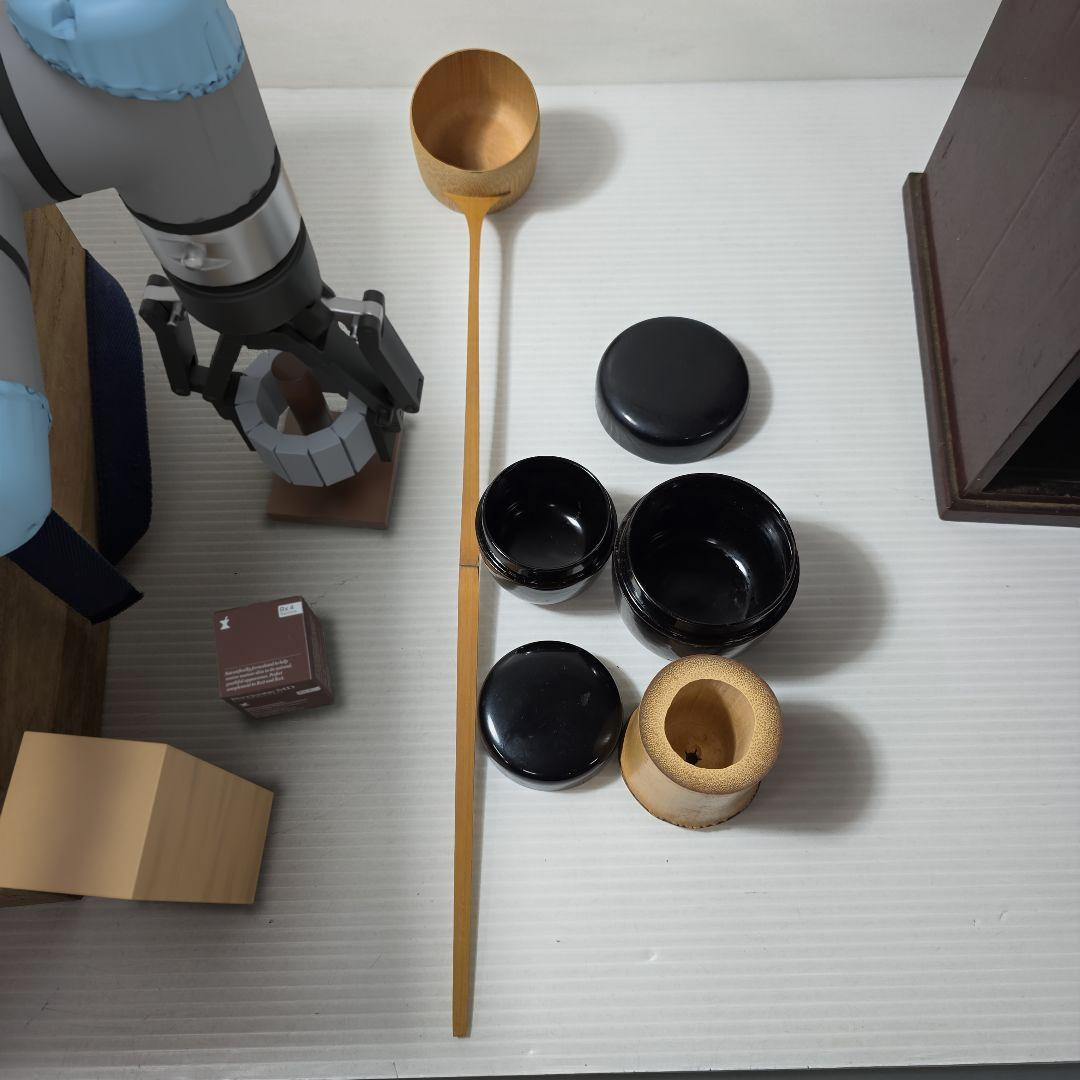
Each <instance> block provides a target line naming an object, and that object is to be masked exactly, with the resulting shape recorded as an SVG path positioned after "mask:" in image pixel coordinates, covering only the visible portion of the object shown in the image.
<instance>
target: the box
mask: <svg viewBox="0 0 1080 1080" xmlns="http://www.w3.org/2000/svg"><path fill="white" fill-rule="evenodd" d="M211 618H212V627H213V638H214V648H215V658H216V659H215V660H216V667H217V676H218V677H217V678H218V688H219V697H220V699H222V700H224V701H225V702H226V703H228V704H229V705H231V706H232V707H233V708H235V709H236V710H237V711H239V712H240V713H241V714H243V715H245V716H246V717H247V718H248V719H250V720H259V719H266V718H269V717H270V718H271V717H274V716H280V715H281V716H282V715H285V714H291V713H296V712H300V711H304V710H308V709H314V708H318V707H322V706H327V705H331V704H333V703H334V693H333V685H332V681H331V680H332V679H331V673H330V666H329V660H328V653H327V645H326V637H325V632H324V631H325V630H324V627H323V626H324V625H323V624H322V622H321V620H319V618H318V617H317V615H316V614H315V613H314V611H313V610H312V608H311V607H310V605H309V603H308V601H306V600H305V597H304V596H303V595H302V594H296V595H290V596H285V597H281V598H275V599H271V600H266V601H265V600H264V601H255V602H252V603H248V604H245V605H241V606H236V607H232V608H231V607H230V608H226V609H220V610H215V611H214V612H212V613H211Z"/></svg>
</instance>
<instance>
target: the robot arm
mask: <svg viewBox="0 0 1080 1080" xmlns="http://www.w3.org/2000/svg"><path fill="white" fill-rule="evenodd" d="M242 36H243V35H242V34H241V31H240V28H239V24H238V21H237V17H236V15H235V13H234V11H233V10H232V9H231V8H230V6H229V4H228V1H227V0H0V558H1V557H3V556H5V555H8V554H9V553H11V552H14V551H15V550H17V549H19V548H20V547H21V546H23V545H24V544H26V543H27V542H28V541H29V540H31V539H32V538H33V537H34V536H35V535H36V534H37V533H38V531H39V530H40V529H41V528H42V526H43V525H44V524H45V521H46V520H47V517H48V516H49V515H51V512H52V503H53V502H52V501H53V500H52V499H53V498H52V497H53V496H52V494H53V493H52V477H51V461H50V447H49V445H50V444H49V434H50V432H51V429H52V426H53V416H52V414H51V413H52V412H51V411H50V410H51V408H50V403H49V399H48V398H47V395H46V388H45V381H44V374H43V367H42V361H41V360H42V359H41V354H40V347H39V346H40V345H39V340H38V333H37V327H36V326H37V325H36V319H35V313H34V312H35V311H34V305H33V299H32V285H31V272H30V271H31V269H30V262H29V255H28V254H29V253H28V246H27V239H26V238H27V237H26V229H25V222H24V214H23V213H24V212H28V211H32V210H36V209H40V208H45V207H48V206H52V205H56V204H60V203H63V202H67V201H73V200H76V199H81V198H82V197H83V195H89V194H91V193H96V192H101V191H104V190H109V189H113V188H114V189H115V191H116V192H117V193H118V197H119V198H120V200H121V201H122V202H123V204H124V207H125V208H126V209H127V210H128V212H129V213H130V215H131V217H132V218H133V220H134V222H135V223H136V225H137V227H138V229H139V230H140V232H141V234H142V236H143V237H144V239H145V241H146V242H147V244H148V246H149V248H150V250H151V251H152V253H153V255H154V256H155V258H156V259H157V261H158V262H159V263H160V266H161V268H162V271H163V272H164V275H165V276H164V275H161V274H157V273H152V274H150V275H149V276H148V277H147V281H146V285H145V288H144V291H143V295H142V298H141V301H140V305H139V310H138V315H139V317H140V318H141V320H143V322H144V323H145V324H146V325H147V326H148V327H149V328H150V329H151V331H152V332H153V333H154V336H155V339H156V342H157V343H156V344H157V346H158V349H159V353H160V356H161V360H162V363H163V367H164V370H165V373H166V377H167V380H168V384H169V387H170V390H171V392H172V393H173V394H175V395H177V396H179V397H184V398H185V397H190V396H191V394H192V393H196V394H200V395H201V398H202V399H203V400H204V401H205V402H207V403H210V404H211V405H212V407H213V408H214V410H215V411H216V412H217V414H218V416H219V417H221V418H222V419H223V420H224V421H231V422H232V424H233V426H234V427H235V428H236V430H237V432H238V433H239V435H240V437H241V439H242V440H243V442H244V443H245V444H246V446H247V448H248V449H249V452H256V453H257V451H256V450H255V448H254V446H253V445H252V443H251V442H250V440H249V438H248V437H247V435H246V434H245V432H244V429H243V427H242V424H241V422H240V419H239V417H238V414H237V412H236V409H235V406H236V405H235V398H236V394H237V390H238V386H239V381H240V377H241V376H244V374H243V371H236V370H235V371H233V370H234V367H235V365H236V363H237V361H238V358H239V356H240V353H241V351H242V348H243V346H244V347H246V349H247V350H255V351H267V350H268V349H274V350H279V351H284V352H291V353H292V354H293V355H294V356H296V357H297V358H298V359H299V360H301V361H302V362H303V363H304V364H306V365H307V366H308V367H310V368H315V367H320V368H321V369H322V370H324V371H325V372H326V373H327V374H328V375H330V376H331V377H332V378H333V379H335V380H336V381H337V382H338V383H340V384H341V385H342V386H343V387H344V388H346V389H347V390H348V391H349V392H351V393H352V394H353V395H354V396H356V397H357V398H358V399H359V400H360V401H362V402H363V403H364V404H365V405H367V406H368V408H367V413H366V420H367V423H368V426H369V429H370V432H371V435H372V437H373V440H374V443H375V446H376V449H377V451H378V454H379V457H380V460H381V462H392V456H393V450H394V444H395V438H396V433H400V431H401V429H402V422H403V423H404V417H405V416H404V415H405V413H407V414H411V415H413V414H418V413H419V412H420V409H421V403H422V395H423V390H424V383H425V376H424V374H423V372H422V371H421V370H420V367H419V366H418V364H417V362H415V359H414V358H413V357H412V355H411V353H410V351H409V349H408V348H407V347H406V345H405V343H404V342H403V340H402V338H401V337H400V335H399V333H398V332H397V330H396V329H395V327H394V325H393V324H392V322H391V321H390V319H389V317H388V316H387V314H386V297H385V294H384V293H383V292H381V291H380V290H376V289H367V290H364V292H363V294H362V295H363V296H362V300H359V299H353V298H352V299H351V298H347V297H346V298H345V297H339V296H337V294H336V293H335V291H334V290H333V289H332V288H331V287H330V286H329V285H328V284H327V283H325V281H324V280H323V278H322V275H321V271H320V268H319V262H318V259H317V256H316V252H315V249H314V247H313V244H312V241H311V238H310V234H309V232H308V229H307V226H306V223H305V221H304V217H303V216H302V213H301V209H300V205H299V201H298V199H297V196H296V194H295V192H294V188H293V186H292V183H291V180H290V178H289V175H288V172H287V170H286V167H285V164H284V161H283V158H282V156H281V154H280V153H281V152H280V150H279V147H278V144H277V142H276V138H275V135H274V132H273V129H272V125H271V123H270V120H269V117H268V116H269V115H268V114H267V111H266V108H265V105H264V102H263V98H262V95H261V92H260V90H259V86H258V83H257V79H256V77H255V74H254V70H253V67H252V65H251V64H252V63H251V61H250V58H249V55H248V52H247V48H246V46H245V43H244V39H243V37H242ZM189 315H190V316H191V317H192V318H193V319H194V320H196V321H197V322H198V323H200V324H201V325H203V326H205V327H206V328H208V329H210V330H213V331H215V332H217V333H218V338H217V341H216V343H215V347H214V350H213V354H212V355H211V358H210V362H209V366H205V365H201V364H199V363H200V362H199V357H198V353H197V348H196V343H195V340H194V339H195V338H194V335H193V332H192V326H191V322H190V317H189ZM339 323H341V324H342V325H344V327H345V328H346V330H347V331H348V332H349V334H348V333H346V332H345V331H344V329H342V328H341V327H340V324H339Z"/></svg>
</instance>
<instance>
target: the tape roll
mask: <svg viewBox="0 0 1080 1080" xmlns="http://www.w3.org/2000/svg"><path fill="white" fill-rule="evenodd" d="M280 352H282V351H279V350H274V349H268V350H266V351H265V350H262V351H261V352H260V353H259V354H258V355H257V357H255V359H254V360H252V362H251V363H250V364H249V365H248V366H247V367H246V368H245V369H244V370H243V371H242V373H243V375H244V376H241V377H240V381H239V386H238V390H237V394H236V398H235V405H236V406H235V409H236V412H237V414H238V417H239V419H240V422H241V424H242V427H243V429H244V432H245V434H246V435H247V437H248V438H249V440H250V442H251V443H252V445H253V446H254V448H255V450H256V451H257V452H256V453H257V455H258V456H259V458H260V459H261V461H262V464H264V465H265V466H266V467H267V468H266V469H268V470H270V471H271V472H272V473H276V474H277V475H278V476H280V477H281V478H283V479H284V480H286V481H287V482H289V483H291V481H292V482H293V484H294V485H307V486H319V487H323V484H324V482H325V484H326V486H329V485H331V484H334V483H336V482H339V481H341V480H344V479H346V478H348V477H351V476H353V475H355V474H354V471H353V470H355V471H356V472H359V471H360V470H361V469H362V467H363V466H364V465H365V464H366V463H367V461H368V460H369V459H370V458H371V457H372V456H373V454H374V453H375V452H376V448H375V447H376V446H375V443H374V440H373V437H372V435H371V432H370V429H369V426H368V423H367V420H366V413H367V408H368V406H367V405H365V404H364V403H363V402H362V401H360V400H359V399H358V398H357V397H356V396H354V395H353V394H352V393H351V392H349V391H348V390H347V389H346V388H344V387H343V386H342V385H341V384H340V383H338V382H337V381H336V380H335V379H333V378H332V377H331V376H330V375H328V374H327V373H326V372H325V371H324V370H322V369H321V368H320V367H315V368H312V369H313V371H314V374H315V376H316V378H317V381H318V383H319V385H320V388H321V390H322V393H323V394H325V393H326V394H338V395H339V396H340V397H342V398H343V399H345V400H346V405H345V406H346V407H345V409H344V411H342V412H343V413H342V414H341V415H340V416H339V417H338V418H337V419H336V421H335V422H334V423H333V424H332V425H331V426H330V427H328V428H325V429H323V430H320V431H318V432H315V433H313V434H310V435H308V436H301V435H289V434H283V432H281V431H279V430H278V425H279V420H280V417H281V415H283V413H284V412H285V411H286V410H288V408H289V406H288V404H287V402H286V400H285V398H284V396H283V394H282V392H281V390H280V388H279V386H278V384H277V382H276V380H275V378H274V376H273V374H272V371H271V364H272V361H273V359H274V358H275V357H276V356H277V355H278V354H279V353H280Z"/></svg>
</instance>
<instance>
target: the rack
mask: <svg viewBox="0 0 1080 1080" xmlns="http://www.w3.org/2000/svg"><path fill="white" fill-rule="evenodd" d="M271 371H272V374H273V376H274V378H275V380H276V382H277V384H278V386H279V388H280V390H281V392H282V394H283V396H284V398H285V400H286V402H287V404H288V406H289V407H288V408H287V411H286V417H285V422H284V425H283V426H284V427H283V432H282V434H289V435H301V436H308V435H310V434H313V433H315V432H318V431H320V430H323V429H325V428H328V427H330V426H331V425H332V424H333V423H334V422H335V421H336V419H337V418H338V417H339V416H340V415H341V414H342V413H343V411H333V410H330V407H329V405H328V403H327V400H326V397H325V395H324V393H323V392H322V390H321V388H320V385H319V383H318V381H317V378H316V376H315V374H314V371H313V369H312V368H310V367H308V366H307V365H306V364H304V363H303V362H302V361H301V360H299V359H298V358H297V357H296V356H294V355H293V354H292V353H291V352H284V351H282V352H280V353H279V354H278V355H277V356H276V357H275V358H274V359H273V361H272V364H271ZM404 431H405V423H404V421H403V422H402V429H401V431H400V433H396V438H395V444H394V450H393V456H392V462H381V460H380V457H379V454H378V451H377V449H376V452H375V453H374V454H373V456H372V457H371V458H370V459H369V460H368V461H367V463H366V464H365V465H364V466H363V467H362V469H361V470H360V471H359V472H356V471H355V470H353V471H354V474H355V475H353V476H351V477H348V478H346V479H344V480H341V481H339V482H336V483H334V484H331V485H329V486H326V484H325V482H324V484H323V487H319V486H307V485H294V484H293V482H292V481H291V483H289V482H287V481H286V480H284V479H283V478H281V477H280V476H278V475H277V474H276V473H274V472H273V473H274V474H273V479H272V484H271V488H270V492H269V498H268V502H267V507H266V511H265V513H266V514H267V516H268V518H269V519H270V520H271V521H272V522H273V521H274V522H288V523H299V524H310V525H322V526H323V525H324V526H336V527H349V528H360V529H371V530H373V529H374V530H385V531H388V530H389V526H390V525H389V524H390V519H391V512H392V508H393V507H392V506H393V500H394V493H395V489H396V488H395V487H396V481H397V474H398V468H399V462H400V457H401V450H402V444H403V436H404ZM375 448H376V447H375Z"/></svg>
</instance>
